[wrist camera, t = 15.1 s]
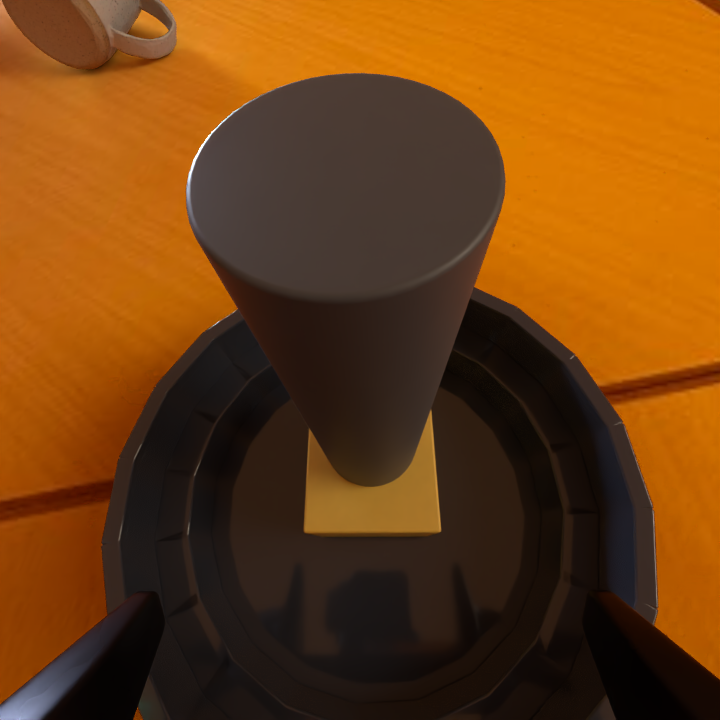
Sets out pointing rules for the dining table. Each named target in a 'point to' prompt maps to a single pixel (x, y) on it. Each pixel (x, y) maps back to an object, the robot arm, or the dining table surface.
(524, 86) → the dining table surface
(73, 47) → the ceramic mug
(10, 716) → the robot arm
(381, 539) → the bowl
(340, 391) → the peg on base
